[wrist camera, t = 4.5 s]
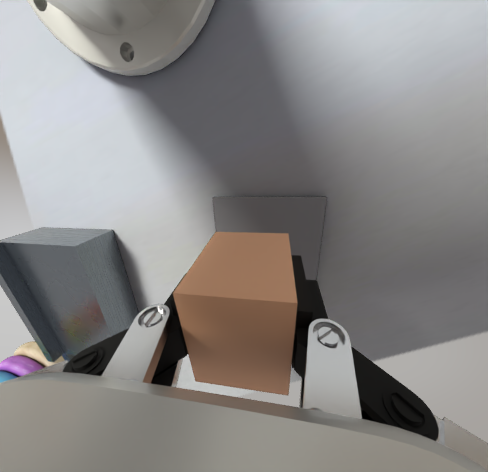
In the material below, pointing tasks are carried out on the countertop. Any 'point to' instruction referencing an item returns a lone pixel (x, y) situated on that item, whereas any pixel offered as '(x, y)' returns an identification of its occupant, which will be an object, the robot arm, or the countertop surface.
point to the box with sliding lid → (67, 287)
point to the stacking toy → (24, 362)
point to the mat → (277, 222)
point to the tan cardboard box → (240, 311)
